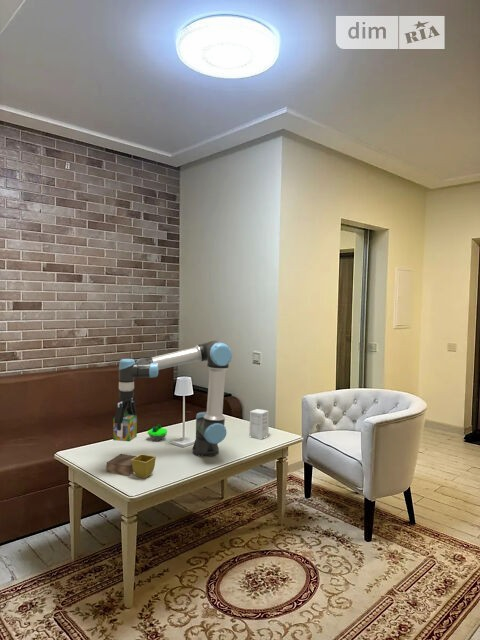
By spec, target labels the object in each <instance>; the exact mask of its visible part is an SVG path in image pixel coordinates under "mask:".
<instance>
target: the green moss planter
mask: <svg viewBox="0 0 480 640" xmlns="http://www.w3.org/2000/svg"><path fill="white" fill-rule="evenodd" d="M167 433H168V429H167V428H163V427H162V425H161V424H157V425H156V423H154V427H152V428H151V429H149V430H148V431H147V435H148V436H149V437H150V438H151V439H152V440H154V441H161V440H162V439H163V440H164V438H165V437H166V435H167Z"/></svg>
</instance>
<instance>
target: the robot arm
mask: <svg viewBox="0 0 480 640" xmlns="http://www.w3.org/2000/svg"><path fill="white" fill-rule="evenodd" d="M232 358H233V352H232V350H231V348H230V346H228V345H227V344H226V343H224V342H221V341H218V340H212V341H207V342H203V343H200V344H196V345H195V347H191V348H190V347H189V348H186V349H182V350H178V351H173V352H169V353H164V354H160V355H156V356H152V357H148V358H139V359H137V361H136V360H135V359H134V358H133V359H132V358H121V359H120V360H119V364H118V398H119V399H120V401H119V402H117V403H116V404H115V405H116V406H115V407H116V408H115V409H116V410H115V414H114V415H115V416H114V417H115V421H114V423H117V436H119V437H123V424H122V421H123V417H124V414H125V411H127V414H131V415H137V407H136V398H134V397H135V396H134V395H135V391H134V389H135V379H138V378H140V379H141V378H143V379H144V378H145V379H146V378H147V379H148V378H149V379H151V378H157V377H158V375H159V371H160V370H163V369H167V368H172V367H177V366H180V365H184V364H190V363H193V362H200V363H201V362H206V363H207V365H206V367H207V368H208V371H209V373H208V374H209V375H208V390H207V402H206V411H200V412H198V413H196V417H195V440H194V442H193V445H192V447H191V448H192V449H191V450H192V451H191V452H192V454H193V455H195V456H199V457H203V458H204V457H213V456H216V455H218V454H219V451H220V450H219V448H220V447H219V445H218V444H220V443H222V442H223V441H224V440H225V438H226V437H227V428H226V426H225V421H226V420H225V419H226V417H225V415H224V414H223V412H224V411H223V409H224V396H225V395H224V394H225V383H226V371H228V369H229V365H230V363H231V361H232ZM135 361H136V362H135Z"/></svg>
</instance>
